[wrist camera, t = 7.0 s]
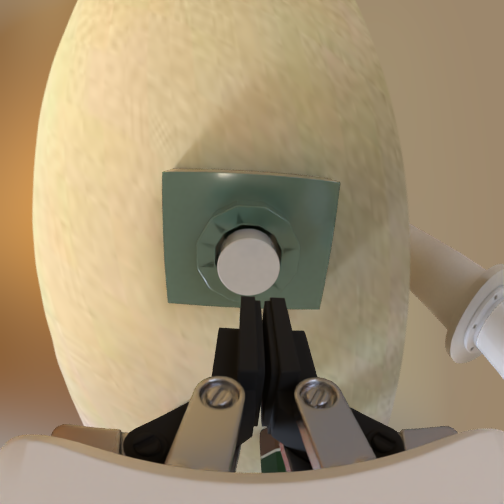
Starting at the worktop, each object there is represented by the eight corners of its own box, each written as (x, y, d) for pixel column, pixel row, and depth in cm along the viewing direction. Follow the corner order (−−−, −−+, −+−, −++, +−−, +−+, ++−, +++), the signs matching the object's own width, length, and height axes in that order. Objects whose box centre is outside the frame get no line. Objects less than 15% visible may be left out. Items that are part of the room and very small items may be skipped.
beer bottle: (252, 442, 33) (258, 580, 11) (267, 417, 31) (280, 583, 8) (300, 444, 34) (319, 572, 12) (320, 419, 31) (352, 569, 9)
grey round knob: (278, 229, 17) (283, 240, 15) (273, 281, 18) (276, 297, 16) (220, 226, 17) (217, 236, 15) (219, 279, 18) (216, 294, 16)
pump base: (327, 177, 20) (351, 186, 16) (311, 291, 24) (325, 324, 19) (173, 168, 20) (152, 174, 15) (175, 285, 23) (161, 317, 18)
